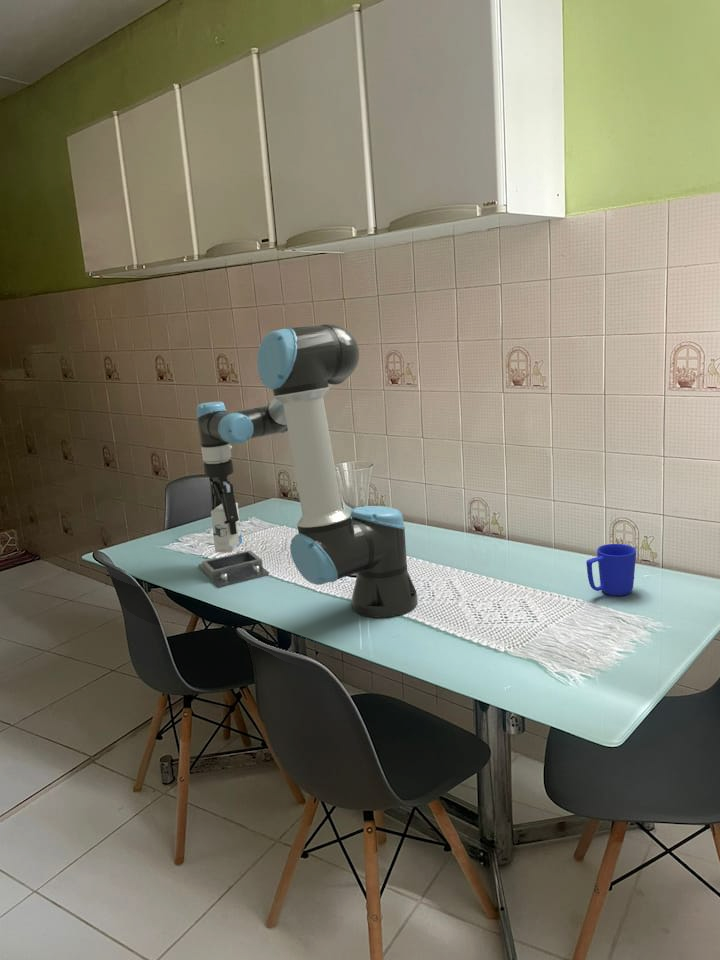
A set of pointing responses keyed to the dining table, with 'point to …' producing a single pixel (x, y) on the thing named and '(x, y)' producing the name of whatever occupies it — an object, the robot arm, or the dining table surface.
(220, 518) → the ink box
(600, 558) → the mug
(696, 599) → the dining table surface
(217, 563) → the tray
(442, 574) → the dining table surface
